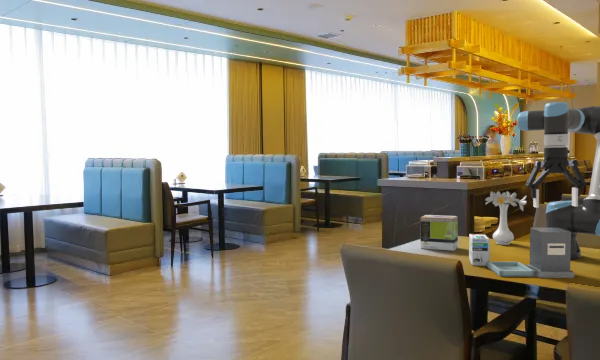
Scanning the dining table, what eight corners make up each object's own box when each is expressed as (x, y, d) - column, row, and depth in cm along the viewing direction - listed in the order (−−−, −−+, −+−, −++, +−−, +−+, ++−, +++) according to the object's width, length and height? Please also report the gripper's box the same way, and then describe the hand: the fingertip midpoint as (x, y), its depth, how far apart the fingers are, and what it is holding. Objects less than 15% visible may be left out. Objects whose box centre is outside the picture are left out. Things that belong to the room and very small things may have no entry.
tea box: (458, 247, 234) (458, 215, 233) (453, 251, 225) (454, 218, 224) (425, 245, 241) (425, 213, 240) (419, 248, 232) (420, 216, 231)
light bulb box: (490, 266, 197) (490, 238, 196) (471, 265, 198) (472, 238, 197) (485, 260, 207) (486, 234, 206) (468, 259, 208) (468, 233, 208)
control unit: (558, 269, 190) (559, 227, 189) (574, 277, 178) (575, 232, 177) (525, 269, 191) (526, 227, 190) (539, 277, 179) (540, 232, 178)
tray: (518, 266, 195) (518, 261, 195) (534, 276, 180) (534, 271, 180) (486, 266, 196) (486, 261, 196) (500, 276, 181) (500, 270, 181)
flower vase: (529, 246, 236) (530, 192, 234) (490, 246, 236) (491, 192, 234) (517, 240, 249) (518, 189, 247) (479, 241, 249) (480, 190, 247)
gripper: (524, 148, 176) (524, 209, 177) (597, 145, 175) (596, 207, 177) (515, 147, 183) (515, 206, 185) (585, 145, 183) (585, 204, 184)
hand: (555, 206), depth 181 cm, fingers open, 13 cm apart
